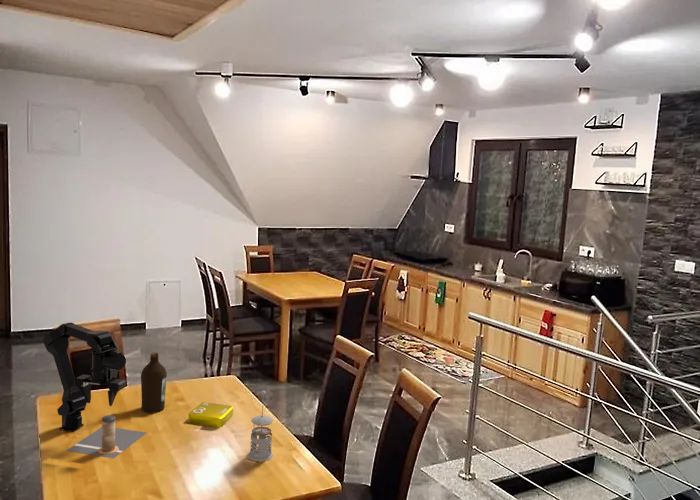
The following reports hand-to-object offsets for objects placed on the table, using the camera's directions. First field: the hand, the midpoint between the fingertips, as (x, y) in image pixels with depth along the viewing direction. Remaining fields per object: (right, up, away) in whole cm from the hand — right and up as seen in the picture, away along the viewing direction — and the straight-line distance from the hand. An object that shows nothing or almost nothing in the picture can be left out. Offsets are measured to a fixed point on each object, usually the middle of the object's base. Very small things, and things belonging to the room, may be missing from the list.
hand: (100, 404), depth 218 cm
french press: (+62, -18, -5) cm, 65 cm away
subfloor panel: (+5, -14, -5) cm, 16 cm away
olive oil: (+10, -11, +31) cm, 34 cm away
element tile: (+37, -13, +24) cm, 46 cm away
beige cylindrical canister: (+8, -13, -11) cm, 19 cm away
